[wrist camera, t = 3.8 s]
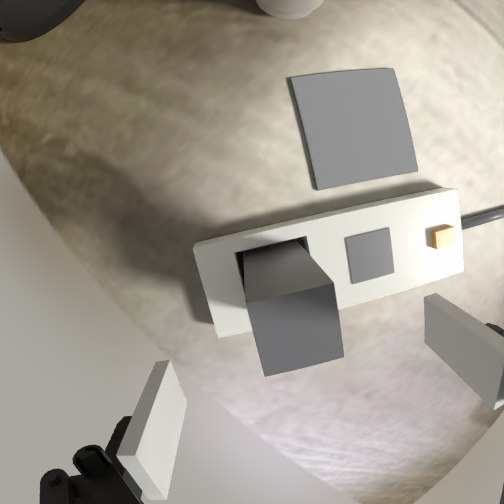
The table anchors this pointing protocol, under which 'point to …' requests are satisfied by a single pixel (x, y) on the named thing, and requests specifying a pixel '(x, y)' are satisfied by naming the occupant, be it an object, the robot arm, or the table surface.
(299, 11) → the grey ribbed canister
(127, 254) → the table surface
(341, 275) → the power strip
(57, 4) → the robot arm
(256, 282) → the block
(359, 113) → the mat
